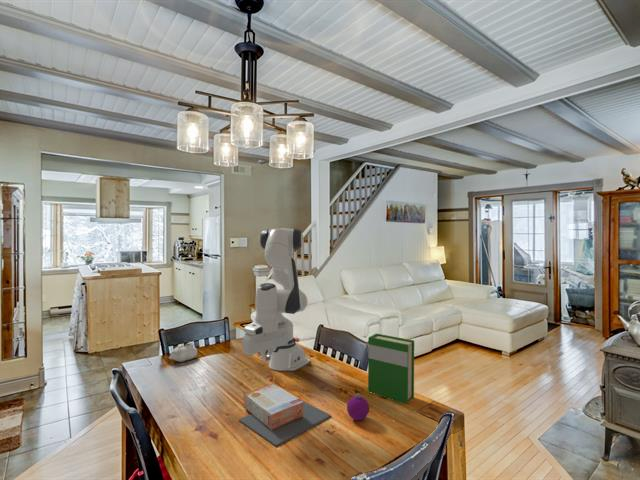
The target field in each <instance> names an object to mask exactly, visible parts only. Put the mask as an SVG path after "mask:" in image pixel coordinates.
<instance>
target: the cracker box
mask: <svg viewBox="0 0 640 480" xmlns="http://www.w3.org/2000/svg"><path fill="white" fill-rule="evenodd" d="M301 400H302V399H300V398H298V397H296V396H295V395H293V394H291V393H290V392H288V391H286V390H285V389H283V388H282V387H280V386H279V385H277V384H275V383H272V384H269V385H265V386H262V387H260V388H256V389H254V390H250V391H248V392H244V393H243V408H245V410H247V411H248V412H249V413H250V414H253V415H254V416H255V417H256V418H258V419H259V420H260V421H261V422H262V423H264V424H265V425H266V426H267V427H268V428H270V429H271V430H273V429H275V428H277V427H280V426H282V425H284V424H287V423H289V422H291V421H293V420H296V419H298V418H301V417H303V401H304V400H302V401H301Z"/></svg>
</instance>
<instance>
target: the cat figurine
mask: <svg viewBox="0 0 640 480" xmlns="http://www.w3.org/2000/svg"><path fill="white" fill-rule="evenodd" d="M170 353H171V354H170V355H169V357H168V359H170V360H174V361H175V362H178V363H179V362H180V363H183V362H185V361H191V360H192V359H195V358H196V356H198V349H197V348H196V347H195V344H194V343H193V342H187V343H185V344H184V345H183V344H178V345H177V346H175V347H174V349H173V350H172V351H171V352H170Z"/></svg>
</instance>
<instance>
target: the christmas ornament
mask: <svg viewBox="0 0 640 480" xmlns="http://www.w3.org/2000/svg"><path fill="white" fill-rule="evenodd" d="M346 412H347V414H348V415H349V418H351V419H353V420H354V421H362V420H364V419H366V417H368V416H369V412H370V405H369V402H368V400H367V399H366V398H364V397H363V396H361V394H360V393H356V394H355V395H354V396H353V397H350V399H348V401H347V405H346Z"/></svg>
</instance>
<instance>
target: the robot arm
mask: <svg viewBox="0 0 640 480" xmlns="http://www.w3.org/2000/svg"><path fill="white" fill-rule="evenodd" d="M258 240H259V244H260V247H261V248H262V249H264V261H265V262H266V263H267V265H268V266H269V267H271V268H272V277H271V278H272V279H273V281H274V282H275V283H276V284H279V285H281V286H282V287H283V288H281V289H280V288H279V289H277V285H276V284H274V283H271V282H264V283H261V284H258V285H257V287H256V291H255V297H254V308H255V317H254V319H255V320H253V322H251V323H249V324H248V325H245V326H244V328H243V332H244V334H243V336H242V344H241V345H242V346H241V347H242V348H241V350H242V351H241V352H242V353H243V354H245V355H246V356H250V355H252V356H253V355H254V354H258V353H259V354H260V356H261V358H262V362H269V364H268V368H269V369H271V370H274V371H281V372H283V371H284V372H285V371H289V372H290V371H292V372H293V371H296V370H298V369H300V368H302V367H304V366H305V365H307V364H309V362H310V363H311V360H310V359H309V358H308V357H306V351H305V350H304V349H303V348H302V347H301V346H299V345H298V344H297V343H299V342H300V338H299V337H294V324H293V322H292V321H291V320H290V319H289V318H286V317H285V316H284V315H283V314H292V315H295V314H296V313H298V312H303V311H305V310H306V308H307V307H308V297H307V295H306V294H305V293H304V292H303V291H302V290H301V289H300V287H299V279H298V278H299V277H298V270H297V265H296V261H295V255H294V253H296V252H297V251H298V250H300V248H302V247H303V244H304V235H303V231H302V230H301V229H299V228H288V227H287V228H286V227H281V228H265V229H263V230H262V231H261V232H260V234H259V239H258Z"/></svg>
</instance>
